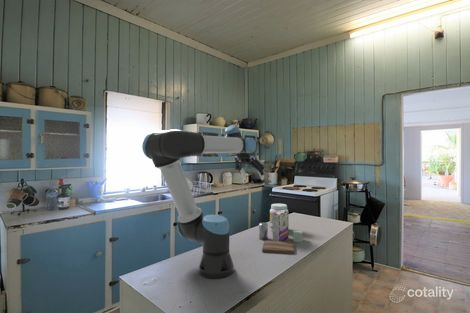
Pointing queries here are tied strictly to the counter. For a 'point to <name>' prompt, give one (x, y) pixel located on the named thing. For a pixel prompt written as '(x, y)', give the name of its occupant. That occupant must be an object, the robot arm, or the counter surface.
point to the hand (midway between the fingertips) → (253, 178)
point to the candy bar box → (280, 225)
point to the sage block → (297, 236)
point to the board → (278, 247)
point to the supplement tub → (274, 209)
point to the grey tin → (263, 231)
